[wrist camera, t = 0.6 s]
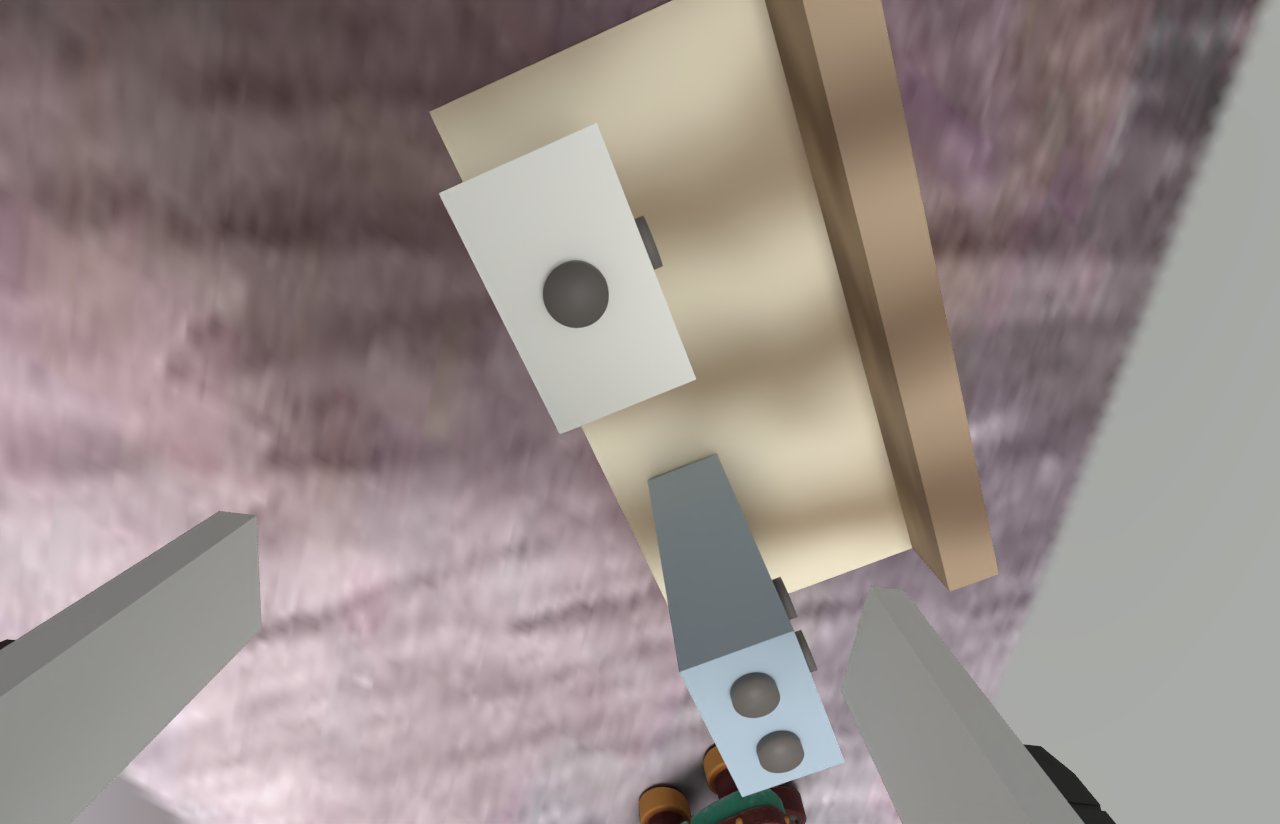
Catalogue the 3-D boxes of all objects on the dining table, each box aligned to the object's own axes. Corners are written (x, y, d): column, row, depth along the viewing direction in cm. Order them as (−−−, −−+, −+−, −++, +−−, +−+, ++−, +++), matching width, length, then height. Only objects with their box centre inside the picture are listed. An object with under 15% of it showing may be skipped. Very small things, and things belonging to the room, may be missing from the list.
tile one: (513, 186, 20) (434, 193, 10) (605, 146, 19) (613, 113, 10) (576, 323, 21) (558, 440, 12) (660, 288, 21) (713, 378, 12)
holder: (436, 114, 20) (399, 100, 16) (806, -54, 19) (857, -112, 15) (678, 617, 28) (691, 684, 24) (943, 519, 27) (998, 574, 23)
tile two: (647, 481, 24) (681, 681, 14) (723, 451, 24) (809, 635, 14) (689, 574, 26) (744, 808, 16) (761, 547, 26) (859, 769, 16)
